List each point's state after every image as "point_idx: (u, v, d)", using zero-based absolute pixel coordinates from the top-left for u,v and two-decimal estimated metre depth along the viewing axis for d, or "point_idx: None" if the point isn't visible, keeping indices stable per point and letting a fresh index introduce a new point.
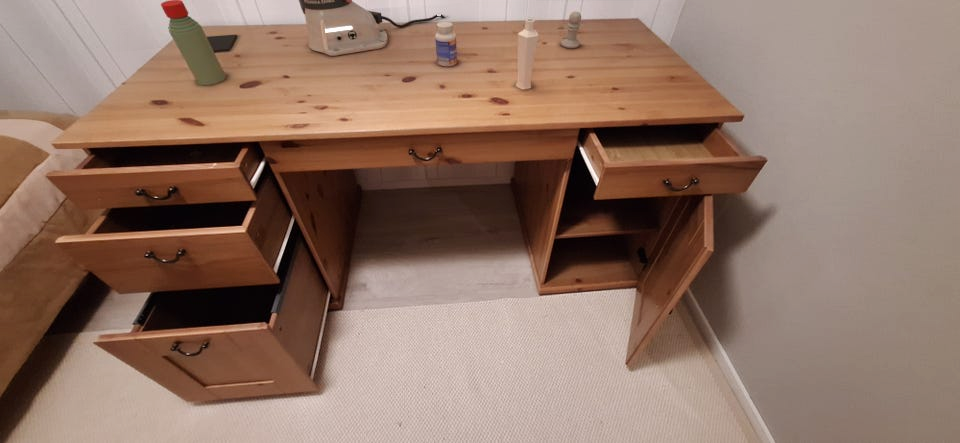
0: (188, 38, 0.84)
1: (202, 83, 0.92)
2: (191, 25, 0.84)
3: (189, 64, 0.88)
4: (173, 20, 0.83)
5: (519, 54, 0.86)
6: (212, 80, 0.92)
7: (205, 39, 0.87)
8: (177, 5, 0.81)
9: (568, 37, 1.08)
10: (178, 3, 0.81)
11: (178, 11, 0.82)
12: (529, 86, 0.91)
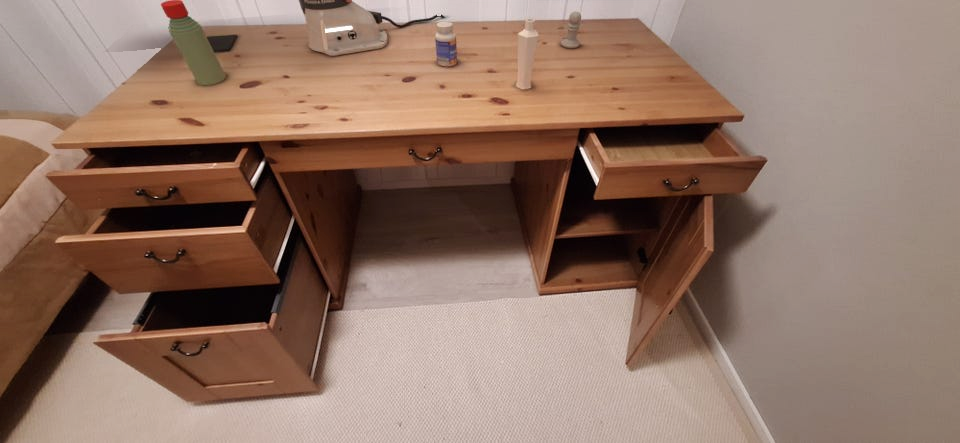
0: (188, 38, 0.84)
1: (202, 83, 0.92)
2: (191, 25, 0.84)
3: (189, 64, 0.88)
4: (173, 20, 0.83)
5: (519, 54, 0.86)
6: (212, 80, 0.92)
7: (205, 39, 0.87)
8: (177, 5, 0.81)
9: (568, 37, 1.08)
10: (178, 3, 0.81)
11: (178, 11, 0.82)
12: (529, 86, 0.91)
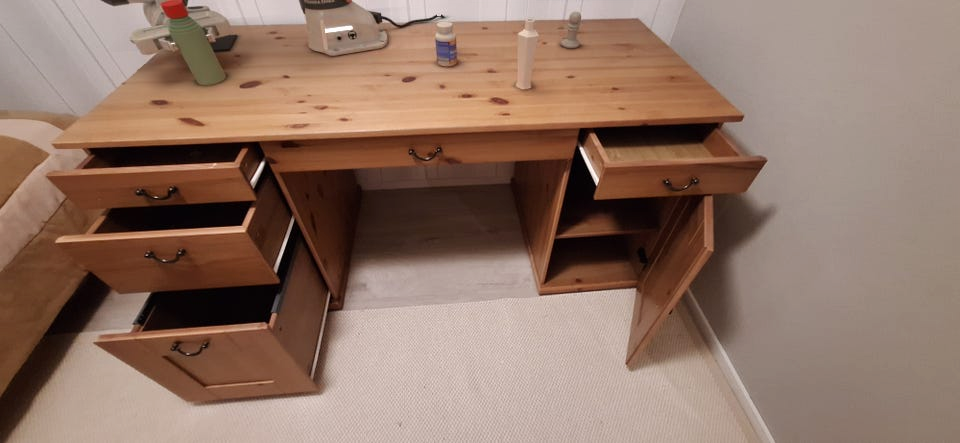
0: (188, 38, 0.84)
1: (202, 83, 0.92)
2: (191, 25, 0.84)
3: (189, 64, 0.88)
4: (173, 20, 0.83)
5: (519, 54, 0.86)
6: (212, 80, 0.92)
7: (205, 39, 0.87)
8: (177, 5, 0.81)
9: (568, 37, 1.08)
10: (178, 3, 0.81)
11: (178, 11, 0.82)
12: (529, 86, 0.91)
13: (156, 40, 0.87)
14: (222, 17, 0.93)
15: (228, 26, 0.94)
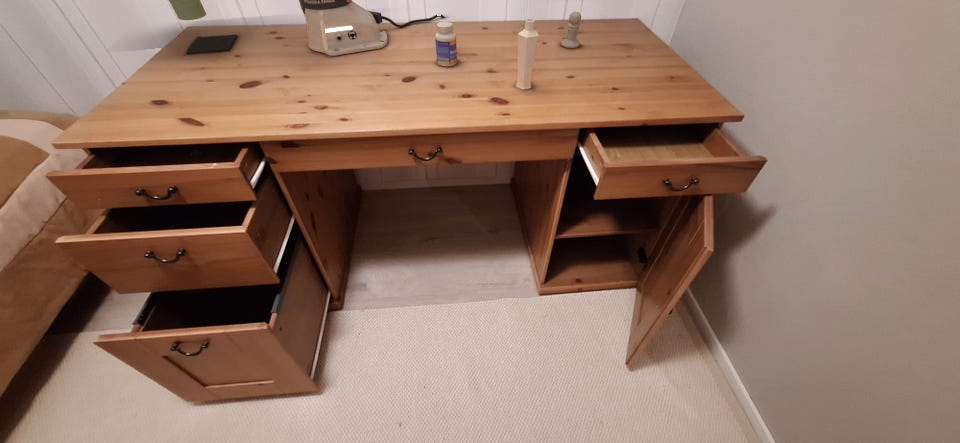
0: None
1: (182, 18, 0.94)
2: None
3: None
4: None
5: (519, 54, 0.86)
6: (192, 15, 0.94)
7: None
8: None
9: (568, 37, 1.08)
10: None
11: None
12: (529, 86, 0.91)
13: None
14: None
15: None
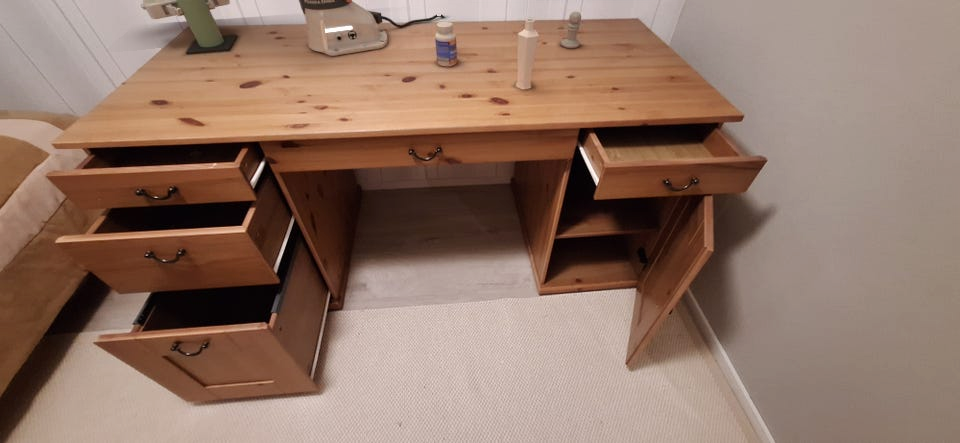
0: (192, 4, 0.99)
1: (203, 45, 1.06)
2: None
3: (192, 28, 1.03)
4: None
5: (519, 54, 0.86)
6: (212, 43, 1.06)
7: (206, 6, 1.02)
8: None
9: (568, 37, 1.08)
10: None
11: None
12: (529, 86, 0.91)
13: (164, 6, 1.01)
14: None
15: None
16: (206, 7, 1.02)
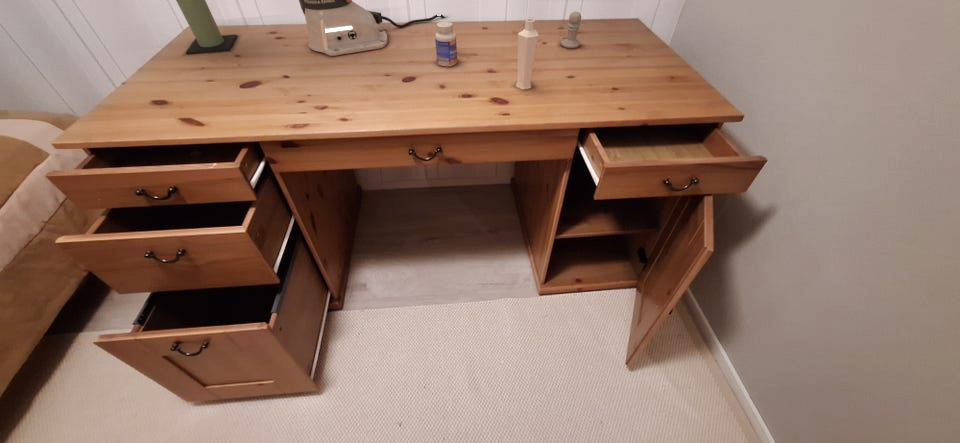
0: (192, 4, 0.99)
1: (203, 45, 1.06)
2: None
3: (192, 28, 1.03)
4: None
5: (519, 54, 0.86)
6: (212, 43, 1.06)
7: (206, 6, 1.02)
8: None
9: (568, 37, 1.08)
10: None
11: None
12: (529, 86, 0.91)
13: None
14: None
15: None
16: (206, 7, 1.02)
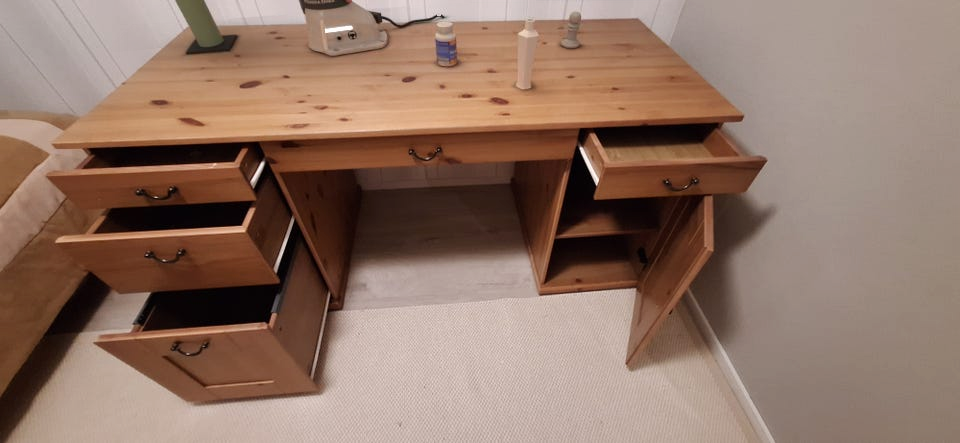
0: (191, 3, 0.99)
1: (203, 45, 1.06)
2: None
3: (192, 28, 1.03)
4: None
5: (519, 54, 0.86)
6: (212, 42, 1.06)
7: (205, 5, 1.02)
8: None
9: (568, 37, 1.08)
10: None
11: None
12: (529, 86, 0.91)
13: None
14: None
15: None
16: (205, 7, 1.02)
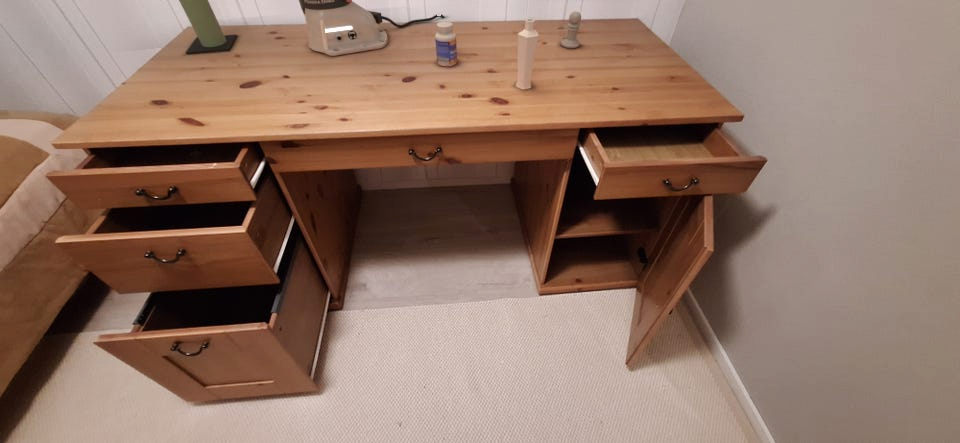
0: (194, 3, 0.99)
1: (206, 45, 1.06)
2: None
3: (195, 28, 1.03)
4: None
5: (519, 54, 0.86)
6: (214, 42, 1.06)
7: (209, 6, 1.02)
8: None
9: (568, 37, 1.08)
10: None
11: None
12: (529, 86, 0.91)
13: None
14: None
15: None
16: (209, 7, 1.02)
